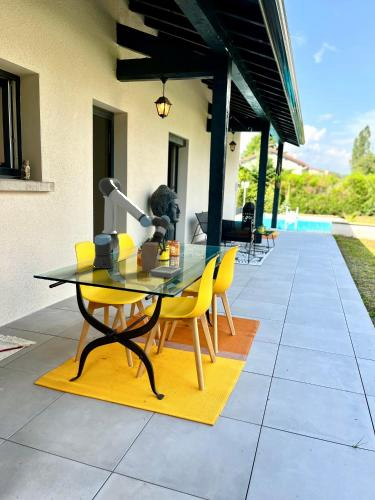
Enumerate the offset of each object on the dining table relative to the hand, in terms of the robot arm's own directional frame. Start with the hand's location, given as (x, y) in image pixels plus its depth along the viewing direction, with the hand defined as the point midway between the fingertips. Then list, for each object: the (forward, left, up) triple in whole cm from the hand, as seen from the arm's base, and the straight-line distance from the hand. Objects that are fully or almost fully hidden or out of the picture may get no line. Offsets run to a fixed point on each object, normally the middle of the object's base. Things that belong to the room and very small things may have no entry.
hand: (148, 257), depth 264 cm
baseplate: (+15, -3, -10) cm, 18 cm away
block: (0, +2, -10) cm, 10 cm away
